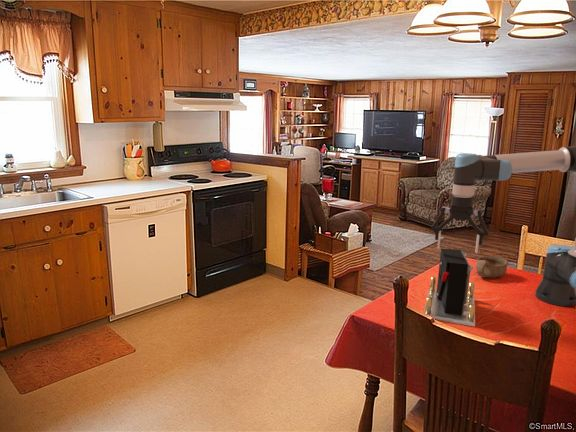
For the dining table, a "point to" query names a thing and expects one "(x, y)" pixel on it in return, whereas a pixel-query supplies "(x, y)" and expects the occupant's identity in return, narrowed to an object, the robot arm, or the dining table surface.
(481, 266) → the bowl
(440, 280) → the electrical component
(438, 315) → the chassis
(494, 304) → the dining table surface
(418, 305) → the dining table surface
